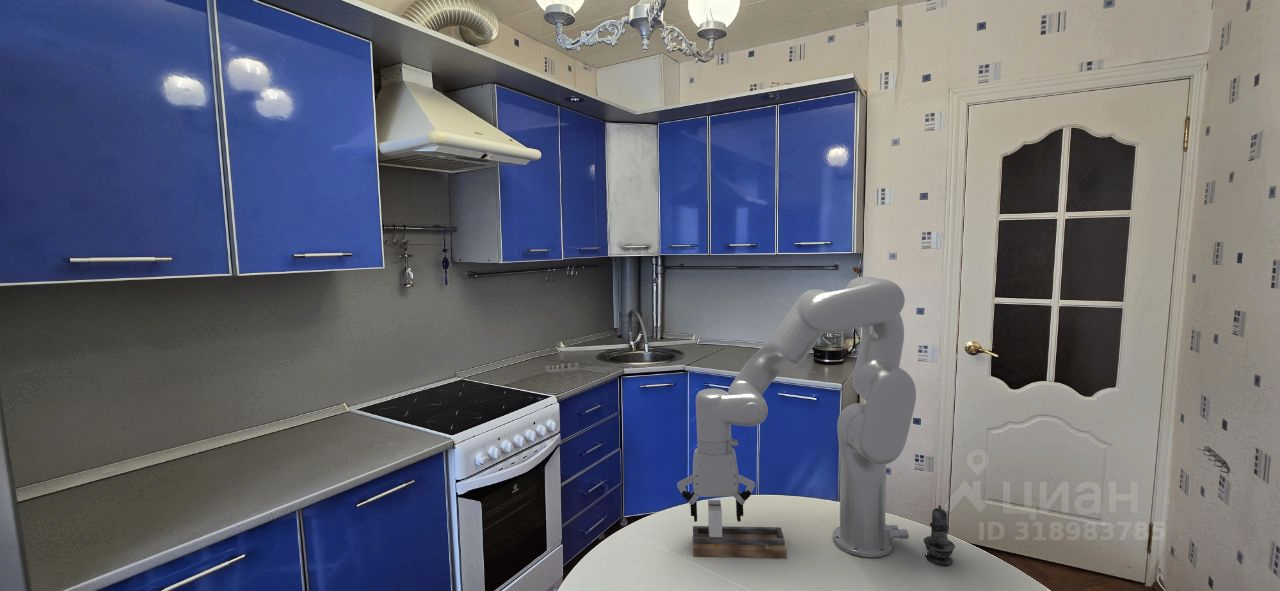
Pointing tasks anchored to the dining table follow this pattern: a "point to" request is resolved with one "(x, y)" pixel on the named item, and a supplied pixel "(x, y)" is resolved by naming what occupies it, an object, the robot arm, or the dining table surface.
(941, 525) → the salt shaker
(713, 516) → the block
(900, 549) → the dining table surface
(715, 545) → the wooden tray
